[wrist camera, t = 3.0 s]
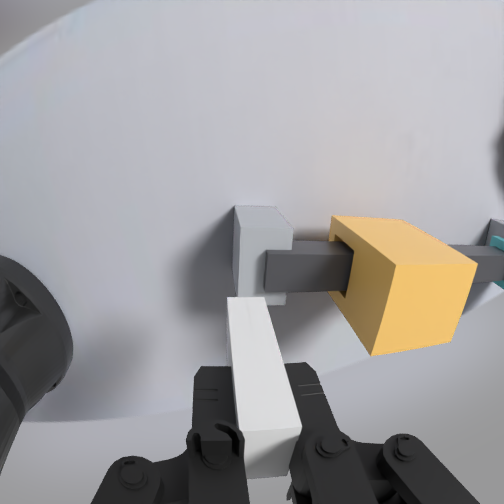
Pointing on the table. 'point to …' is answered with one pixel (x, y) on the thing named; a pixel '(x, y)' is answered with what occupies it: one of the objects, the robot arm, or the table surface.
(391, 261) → the sleeve
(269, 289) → the slider rail
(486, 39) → the table surface
